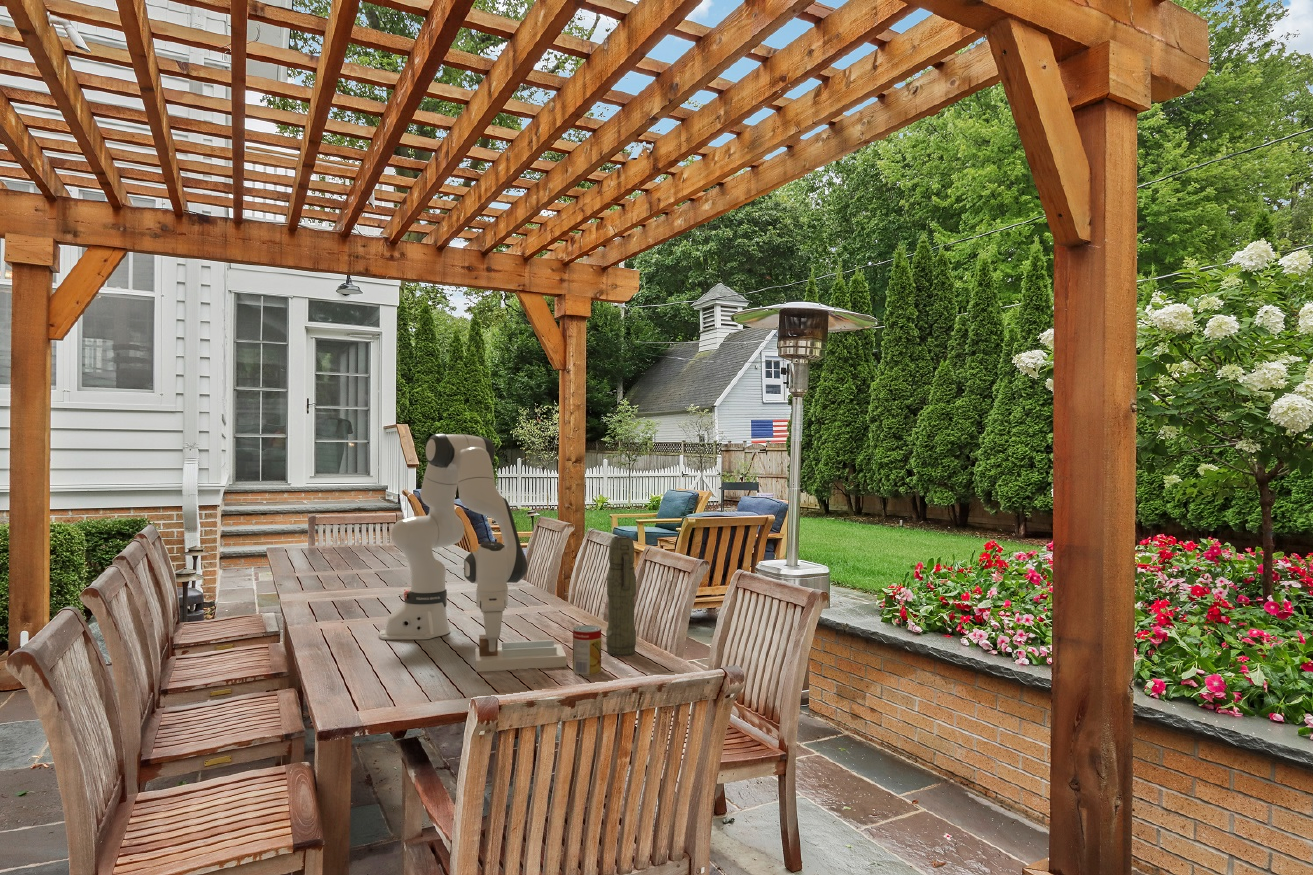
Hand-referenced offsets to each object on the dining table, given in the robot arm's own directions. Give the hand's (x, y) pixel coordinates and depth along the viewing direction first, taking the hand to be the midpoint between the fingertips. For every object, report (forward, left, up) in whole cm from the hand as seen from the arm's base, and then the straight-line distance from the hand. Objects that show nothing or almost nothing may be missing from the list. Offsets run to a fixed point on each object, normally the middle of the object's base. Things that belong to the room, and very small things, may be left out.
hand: (491, 648), depth 232 cm
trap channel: (+8, 0, -5) cm, 9 cm away
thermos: (+39, +5, -5) cm, 39 cm away
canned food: (+26, -13, -5) cm, 29 cm away
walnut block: (-1, 0, -2) cm, 2 cm away
